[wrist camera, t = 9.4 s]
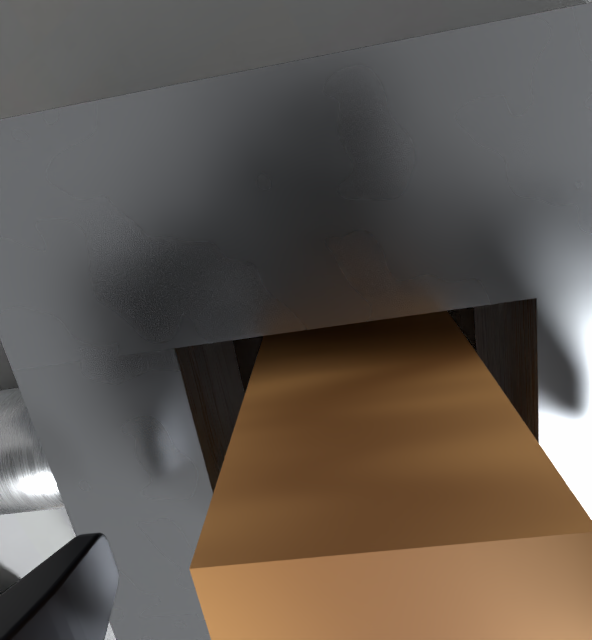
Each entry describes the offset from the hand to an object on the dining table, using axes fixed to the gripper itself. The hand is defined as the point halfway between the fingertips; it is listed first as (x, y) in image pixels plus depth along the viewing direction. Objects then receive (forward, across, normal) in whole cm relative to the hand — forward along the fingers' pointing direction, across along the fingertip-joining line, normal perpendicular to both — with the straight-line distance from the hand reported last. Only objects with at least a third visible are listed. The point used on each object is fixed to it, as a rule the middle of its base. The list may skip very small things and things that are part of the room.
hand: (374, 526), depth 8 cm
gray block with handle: (+5, +4, 0) cm, 7 cm away
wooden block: (+5, 0, 0) cm, 5 cm away
